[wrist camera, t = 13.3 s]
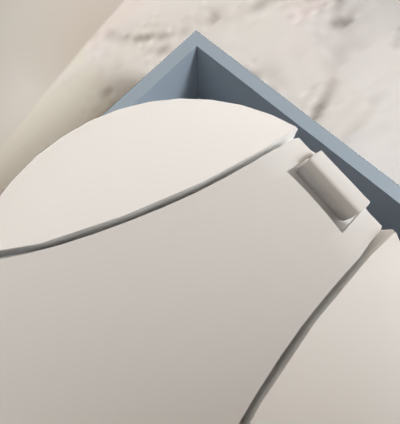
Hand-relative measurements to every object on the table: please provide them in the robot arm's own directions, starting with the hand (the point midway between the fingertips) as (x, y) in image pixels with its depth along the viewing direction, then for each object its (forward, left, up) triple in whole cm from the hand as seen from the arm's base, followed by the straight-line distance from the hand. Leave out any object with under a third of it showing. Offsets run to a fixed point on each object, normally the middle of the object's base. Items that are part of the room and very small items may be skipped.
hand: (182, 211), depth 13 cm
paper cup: (-3, +2, -5) cm, 6 cm away
